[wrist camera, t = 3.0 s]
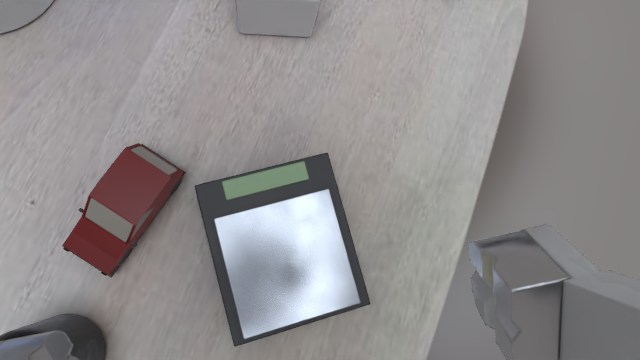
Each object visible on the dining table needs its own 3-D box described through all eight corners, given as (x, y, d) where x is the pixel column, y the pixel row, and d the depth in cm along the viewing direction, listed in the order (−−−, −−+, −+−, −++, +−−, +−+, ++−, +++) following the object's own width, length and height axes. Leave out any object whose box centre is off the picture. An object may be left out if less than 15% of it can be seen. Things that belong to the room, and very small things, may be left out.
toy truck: (67, 245, 42) (41, 243, 37) (143, 145, 45) (127, 132, 40) (120, 279, 42) (101, 282, 38) (193, 178, 45) (184, 168, 40)
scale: (197, 188, 45) (193, 184, 42) (324, 157, 47) (329, 150, 44) (235, 341, 43) (233, 348, 40) (364, 301, 45) (372, 305, 42)
